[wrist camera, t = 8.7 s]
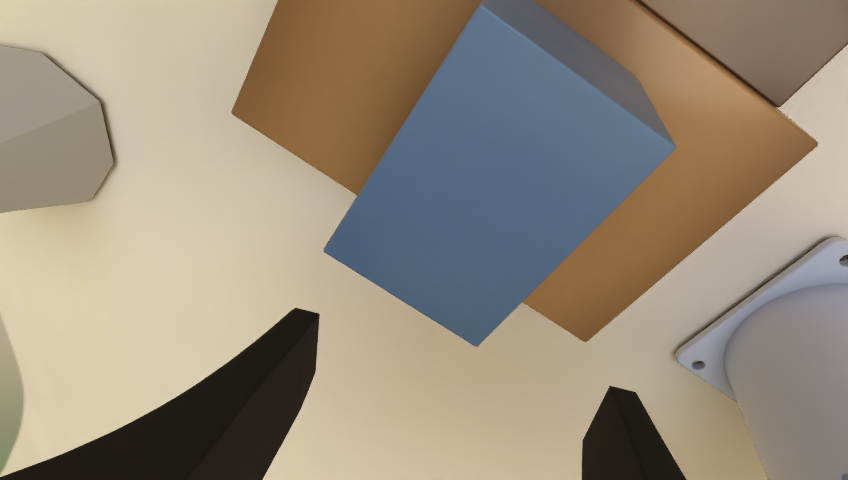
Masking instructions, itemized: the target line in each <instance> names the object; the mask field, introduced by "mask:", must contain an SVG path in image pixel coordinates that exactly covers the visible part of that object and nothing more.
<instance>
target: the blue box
mask: <svg viewBox="0 0 848 480" xmlns="http://www.w3.org/2000/svg"><path fill="white" fill-rule="evenodd" d="M675 149H676V145H675V143H674V141H673V140H672V138H671V136H670V134H669V132H668V131H667V129H666V127H665V125H664V124H663V122H662V120H661V118H660V117H659V115H658V113H657V111H656V109H655V108H654V106H653V104H652V102H651V101H650V99H649V97H648V95H647V94H646V92H645V90H644V88H643V86H642V85H641V83H640V81H639V79H638V78H637V77H636V76H635V75H633V74H632V73H631V72H629V71H628V70H627V69H625V68H624V67H623V66H621V65H620V64H619V63H617V62H616V61H615V60H613V59H612V58H611V57H609V56H608V55H607V54H605V53H604V52H603V51H601V50H600V49H598V48H597V47H596V46H594V45H593V44H592V43H590V42H589V41H588V40H586V39H585V38H584V37H582V36H581V35H580V34H578V33H577V32H576V31H574V30H573V29H572V28H570V27H569V26H568V25H566V24H565V23H563V22H562V21H561V20H559V19H558V18H557V17H555V16H554V15H553V14H551V13H550V12H549V11H547V10H546V9H545V8H543V7H542V6H541V5H539V4H538V3H537V2H535V1H534V0H482V2H481V3H480V4H479V6H478V7H477V9H476V10H475V12H474V13H473V15H472V17H471V18H470V20H469V21H468V23H467V24H466V26H465V28H464V29H463V31H462V32H461V34H460V35H459V37H458V39H457V40H456V42H455V43H454V45H453V46H452V48H451V50H450V51H449V53H448V54H447V56H446V57H445V59H444V61H443V62H442V64H441V65H440V67H439V68H438V70H437V72H436V73H435V75H434V76H433V78H432V79H431V81H430V83H429V84H428V86H427V87H426V89H425V90H424V92H423V94H422V95H421V97H420V98H419V100H418V101H417V103H416V105H415V106H414V108H413V109H412V111H411V112H410V114H409V116H408V117H407V119H406V120H405V122H404V123H403V125H402V127H401V128H400V130H399V131H398V133H397V134H396V136H395V138H394V139H393V141H392V142H391V144H390V145H389V147H388V149H387V150H386V152H385V153H384V155H383V156H382V158H381V160H380V161H379V163H378V164H377V166H376V167H375V169H374V171H373V172H372V174H371V175H370V177H369V178H368V180H367V182H366V183H365V185H364V186H363V188H362V190H361V191H360V193H359V194H358V196H357V197H356V199H355V201H354V202H353V204H352V205H351V207H350V208H349V210H348V212H347V213H346V215H345V216H344V218H343V219H342V221H341V223H340V224H339V226H338V227H337V229H336V230H335V232H334V234H333V235H332V237H331V238H330V240H329V241H328V243H327V245H326V246H325V248H324V252H325V253H327V254H328V255H330V256H331V257H333V258H335V259H336V260H338V261H339V262H341V263H343V264H344V265H346V266H347V267H349V268H351V269H352V270H354V271H355V272H357V273H359V274H360V275H362V276H363V277H365V278H367V279H368V280H370V281H371V282H373V283H375V284H376V285H378V286H379V287H381V288H383V289H384V290H386V291H387V292H389V293H391V294H392V295H394V296H395V297H397V298H399V299H400V300H402V301H403V302H405V303H407V304H408V305H410V306H411V307H413V308H415V309H416V310H418V311H420V312H421V313H423V314H424V315H426V316H428V317H429V318H431V319H432V320H434V321H436V322H437V323H439V324H440V325H442V326H444V327H445V328H447V329H448V330H450V331H452V332H453V333H455V334H456V335H458V336H460V337H461V338H463V339H464V340H466V341H468V342H469V343H471V344H472V345H474V346H476V347H477V346H478V345H479V344H480V343H481V342H482V341H483V340H484V339H485V338H486V337H487V336H488V335H489V334H490V333H491V332H492V331H493V330H494V329H495V328H496V327H497V326H498V325H499V324H500V323H501V322H502V321H503V320H504V319H505V318H506V317H507V316H508V315H509V314H510V313H511V312H512V311H513V310H514V309H515V308H516V307H517V306H518V305H519V304H520V303H521V302H522V301H523V300H524V299H525V298H526V297H528V296H529V295H530V294H531V293H532V292H533V291H534V290H535V289H536V288H537V287H538V286H539V285H540V284H541V283H542V282H543V281H544V280H545V279H546V278H547V277H548V276H549V275H550V274H551V273H552V272H553V271H554V270H555V269H556V268H557V267H558V266H559V265H560V264H561V263H562V262H563V261H564V260H565V259H566V258H567V257H568V256H569V255H570V254H571V253H572V252H573V251H574V250H575V249H576V248H577V247H578V246H579V245H580V244H581V243H582V242H583V241H584V240H585V239H586V238H587V237H588V236H589V235H590V234H591V233H592V232H593V231H594V230H595V229H596V228H597V227H598V226H599V225H600V224H601V223H602V222H603V221H604V220H605V219H606V218H607V217H608V216H609V215H610V214H611V213H612V212H613V211H614V210H615V209H616V208H617V207H618V206H619V205H620V204H621V203H622V202H623V201H624V200H625V199H626V198H627V197H628V196H629V195H630V194H631V193H632V192H633V191H634V190H635V189H636V188H637V187H638V186H639V185H640V184H641V183H642V182H643V181H644V180H645V179H646V178H647V177H648V176H649V175H650V174H651V173H652V172H653V171H654V170H655V169H656V168H657V167H658V166H659V165H660V164H661V163H662V162H663V161H664V160H665V159H666V158H667V157H668V156H669V155H670V154H671V153H672V152H673V151H674V150H675Z"/></svg>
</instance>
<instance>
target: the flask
mask: <svg viewBox="0 0 848 480" xmlns="http://www.w3.org/2000/svg"><path fill="white" fill-rule="evenodd" d="M113 164H114V163H113V158H112V154H111V149H110V145H109V140H108V136H107V131H106V126H105V122H104V117H103V113H102V108H101V104H100V101H98V100H97V99H96V98H95V97H94V96H92V95H91V94H90V93H89V92H88V91H86V90H85V89H84V88H83V87H82V86H80V85H79V84H78V83H77V82H76V81H74V80H73V79H72V78H71V77H70V76H68V75H67V74H66V73H65V72H64V71H62V70H61V69H60V68H59V67H58V66H56V65H55V64H54V63H53V62H52V61H50V60H49V59H48V58H47V57H46V56H44V55H43V54H42V53H41V52H35V51H29V50H23V49H17V48H11V47H5V46H0V213H4V212H10V211H17V210H25V209H33V208H42V207H50V206H59V205H67V204H75V203H81V202H88V201H91V200H92V198H93V196H94V195H95V193H96V191H97V190H98V188H99V187H100V185H101V183H102V182H103V180H104V178H105V177H106V175H107V173H108V172H109V170H110V169H111V167H112V165H113Z"/></svg>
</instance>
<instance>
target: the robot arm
mask: <svg viewBox="0 0 848 480" xmlns="http://www.w3.org/2000/svg"><path fill="white" fill-rule="evenodd" d="M845 255H848V240H846V239H844V238H842V237H832V238H829V239H827V240H825V241H823V242H822V243H820V244H819V245H818V246H816V247H815V248H814V249H812V250H811V251H810V252H808V253H807V254H806V255H804V256H803V257H802V258H800V259H799V260H798V261H796V262H795V263H793V264H792V265H791V266H789V267H788V268H787V269H785V270H784V271H783V272H781V273H780V274H779V275H777V276H776V277H775V278H773V279H772V280H771V281H769V282H768V283H767V284H765V285H764V286H762V287H761V288H760V289H758V290H757V291H756V292H754V293H753V294H752V295H750V296H749V297H748V298H746V299H745V300H744V301H742V302H741V303H740V304H738V305H737V306H736V307H734V308H733V309H731V310H730V311H729V312H727V313H726V314H725V315H723V316H722V317H721V318H719V319H718V320H717V321H715V322H714V323H713V324H711V325H710V326H709V327H707V328H706V329H705V330H703V331H702V332H700V333H699V334H698V335H696V336H695V337H694V338H692V339H691V340H690V341H688V342H687V343H686V344H684V345H683V346H682V347H680V348H679V349H678V350H677V352H676V357H677V361H678V363H679V364H680V365H681V366H683V367H684V368H686V369H687V370H689V371H690V372H692V373H693V374H695V375H696V376H698V377H700V378H701V379H703V380H704V381H706V382H707V383H709V384H710V385H712V386H713V387H715V388H716V389H718V390H719V391H721V392H722V393H724V394H725V395H727V396H728V397H730V398H731V399H733V400H734V401H736V402H737V403H738V404H739V407H740V409H741V412H742V415H743V417H744V420H745V422H746V425H747V427H748V430H749V432H750V435H751V437H752V440H753V442H754V445H755V447H756V450H757V453H758V455H759V458H760V460H761V463H762V465H763V468H764V470H765V473H766V475H767V478H768V480H848V259H846V260H843V261H839V260H840V258H841V257H842V256H845ZM318 328H319V314H318V313H314V312H310V311H306V310H302V309H298V308H295V309H293V310H291V311H290V312H289V313H288V314H287V315H286V316H285V317H283V318H282V319H281V320H280V321H279V322H278V323H277V324H275V325H274V326H273V327H272V328H271V329H270V330H268V331H267V332H266V333H265V334H264V335H262V336H261V337H260V338H259V339H257V340H256V341H255V342H254V343H252V344H251V345H250V346H249V347H247V348H246V349H245V350H243V351H242V352H241V353H240V354H238V355H237V356H236V357H234V358H233V359H232V360H230V361H229V362H228V363H226V364H225V365H224V366H222V367H221V368H219V369H218V370H216V371H215V372H214V373H212V374H211V375H209V376H208V377H206V378H205V379H204V380H202V381H201V382H199V383H198V384H196V385H195V386H193V387H192V388H190V389H188V390H187V391H185V392H184V393H182V394H181V395H179V396H177V397H176V398H174V399H172V400H171V401H169V402H167V403H165V404H164V405H162V406H160V407H159V408H157V409H155V410H153V411H151V412H149V413H148V414H146V415H144V416H142V417H140V418H138V419H136V420H135V421H133V422H131V423H129V424H127V425H125V426H123V427H121V428H119V429H117V430H115V431H113V432H111V433H109V434H107V435H104V436H102V437H100V438H98V439H95V440H93V441H91V442H89V443H87V444H84V445H82V446H80V447H78V448H75V449H73V450H71V451H69V452H66V453H64V454H61V455H59V456H56V457H54V458H51V459H49V460H46V461H43V462H41V463H38V464H35V465H33V466H30V467H27V468H24V469H22V470H19V471H16V472H13V473H11V474H8V475H5V476H2V477H0V480H262V479H263V477H264V476H265V474H266V472H267V470H268V468H269V466H270V465H271V463H272V461H273V459H274V457H275V455H276V454H277V452H278V450H279V448H280V446H281V444H282V443H283V441H284V439H285V437H286V435H287V433H288V432H289V430H290V428H291V426H292V424H293V422H294V420H295V419H296V417H297V415H298V413H299V411H300V409H301V407H302V404H303V402H304V400H305V397H306V395H307V392H308V390H309V387H310V385H311V382H312V380H313V377H314V374H315V371H316V356H317V342H318ZM695 361H702V362H700V363H694V362H695ZM582 480H686V478H685V476H684V475H683V473H682V472H681V470H680V468H679V467H678V465H677V463H676V462H675V460H674V458H673V457H672V455H671V453H670V452H669V450H668V448H667V447H666V445H665V443H664V441H663V440H662V438H661V436H660V434H659V433H658V431H657V429H656V427H655V425H654V424H653V422H652V420H651V418H650V417H649V415H648V413H647V411H646V409H645V408H644V406H643V404H642V402H641V401H640V399H639V397H638V395H637V394H636V392H633V391H629V390H624V389H620V388H616V387H612V386H610V387H609V389H608V391H607V393H606V395H605V397H604V399H603V401H602V403H601V405H600V407H599V409H598V411H597V413H596V415H595V417H594V419H593V421H592V423H591V425H590V427H589V429H588V431H587V433H586V435H585V437H584V439H583V448H582Z"/></svg>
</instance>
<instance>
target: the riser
mask: <svg viewBox="0 0 848 480" xmlns="http://www.w3.org/2000/svg"><path fill="white" fill-rule="evenodd" d="M534 1H535V2H537V3H538V4H539V5H541V6H542V7H543V8H545V9H546V10H547V11H549V12H550V13H551V14H553V15H554V16H555V17H557V18H558V19H559V20H561V21H562V22H563V23H565V24H566V25H568V26H569V27H570V28H572V29H573V30H574V31H576V32H577V33H578V34H580V35H581V36H582V37H584V38H585V39H586V40H588V41H589V42H590V43H592V44H593V45H594V46H596V47H597V48H598V49H600V50H601V51H603V52H604V53H605V54H607V55H608V56H609V57H611V58H612V59H613V60H615V61H616V62H617V63H619V64H620V65H621V66H623V67H624V68H625V69H627V70H628V71H629V72H631V73H632V74H633V75H635V76H636V77H637V78H638V79H639V81H640V83H641V85H642V86H643V88H644V90H645V92H646V94H647V95H648V97H649V99H650V101H651V102H652V104H653V106H654V108H655V109H656V111H657V113H658V115H659V117H660V118H661V120H662V122H663V124H664V125H665V127H666V129H667V131H668V132H669V134H670V136H671V138H672V140H673V141H674V143H675V145H676V149H675V150H674V151H673V152H672V153H671V154H670V155H669V156H668V157H667V158H666V159H665V160H664V161H663V162H662V163H661V164H660V165H659V166H658V167H657V168H656V169H655V170H654V171H653V172H652V173H651V174H650V175H649V176H648V177H647V178H646V179H645V180H644V181H643V182H642V183H641V184H640V185H639V186H638V187H637V188H636V189H635V190H634V191H633V192H632V193H631V194H630V195H629V196H628V197H627V198H626V199H625V200H624V201H623V202H622V203H621V204H620V205H619V206H618V207H617V208H616V209H615V210H614V211H613V212H612V213H611V214H610V215H609V216H608V217H607V218H606V219H605V220H604V221H603V222H602V223H601V224H600V225H599V226H598V227H597V228H596V229H595V230H594V231H593V232H592V233H591V234H590V235H589V236H588V237H587V238H586V239H585V240H584V241H583V242H582V243H581V244H580V245H579V246H578V247H577V248H576V249H575V250H574V251H573V252H572V253H571V254H570V255H569V256H568V257H567V258H566V259H565V260H564V261H563V262H562V263H561V264H560V265H559V266H558V267H557V268H556V269H555V270H554V271H553V272H552V273H551V274H550V275H549V276H548V277H547V278H546V279H545V280H544V281H543V282H542V283H541V284H540V285H539V286H538V287H537V288H536V289H535V290H534V291H533V292H532V293H531V294H530V295H529V296H528V297H526V298H525V299H524V300H523V301H522V302H523V303H525V304H526V305H528V306H530V307H531V308H533V309H534V310H536V311H537V312H539V313H540V314H542V315H543V316H545V317H547V318H548V319H550V320H551V321H553V322H554V323H556V324H557V325H559V326H560V327H562V328H564V329H565V330H567V331H568V332H570V333H571V334H573V335H574V336H576V337H577V338H579V339H581V340H582V341H584V342H587V341H588V340H589V339H591V338H592V337H593V336H594V335H595V334H596V333H598V332H599V331H600V330H601V329H602V328H603V327H605V326H606V325H607V324H608V323H609V322H611V321H612V320H613V319H614V318H615V317H616V316H618V315H619V314H620V313H621V312H622V311H623V310H625V309H626V308H627V307H628V306H629V305H631V304H632V303H633V302H634V301H635V300H636V299H638V298H639V297H640V296H641V295H642V294H643V293H645V292H646V291H647V290H648V289H649V288H651V287H652V286H653V285H654V284H655V283H656V282H658V281H659V280H660V279H661V278H662V277H663V276H665V275H666V274H667V273H668V272H669V271H671V270H672V269H673V268H674V267H675V266H676V265H678V264H679V263H680V262H681V261H682V260H684V259H685V258H686V257H687V256H688V255H689V254H691V253H692V252H693V251H694V250H695V249H696V248H698V247H699V246H700V245H701V244H702V243H704V242H705V241H706V240H707V239H708V238H709V237H711V236H712V235H713V234H714V233H715V232H716V231H718V230H719V229H720V228H721V227H722V226H724V225H725V224H726V223H727V222H728V221H729V220H731V219H732V218H733V217H734V216H735V215H736V214H738V213H739V212H740V211H741V210H742V209H744V208H745V207H746V206H747V205H748V204H749V203H751V202H752V201H753V200H754V199H755V198H756V197H758V196H759V195H760V194H761V193H762V192H764V191H765V190H766V189H767V188H768V187H769V186H771V185H772V184H773V183H774V182H775V181H777V180H778V179H779V178H780V177H781V176H782V175H784V174H785V173H786V172H787V171H788V170H789V169H791V168H792V167H793V166H794V165H795V164H797V163H798V162H799V161H800V160H801V159H802V158H804V157H805V156H806V155H807V154H808V153H809V152H811V151H812V150H813V149H814V148H815V147H817V145H818V142H817V141H816V140H815V139H814V138H812V137H811V136H810V135H809V134H808V133H806V132H805V131H804V130H803V129H801V128H800V127H799V126H798V125H797V124H795V123H794V122H793V121H792V120H791V119H789V118H788V117H787V116H786V115H785V114H783V113H782V112H781V111H780V110H779V109H777V108H776V107H778V108H779V107H781V106H782V105H783V104H784V103H785V102H786V101H787V100H788V99H789V98H790V97H791V96H792V95H793V94H795V93H796V92H797V91H798V90H799V89H800V88H801V87H802V86H803V85H804V84H805V83H806V82H807V81H809V80H810V79H811V78H812V77H813V76H814V75H815V74H816V73H817V72H818V71H819V70H820V69H821V68H823V67H824V66H825V65H826V64H827V63H828V62H829V61H830V60H831V59H832V58H833V57H834V56H835V55H837V54H838V53H839V52H840V51H841V50H842V49H843V48H844V47H845V46H846V45H847V44H848V0H534ZM481 2H482V0H278V2H277V4H276V7H275V9H274V11H273V14H272V16H271V19H270V21H269V23H268V26H267V28H266V30H265V33H264V35H263V38H262V40H261V42H260V45H259V47H258V50H257V52H256V54H255V57H254V59H253V62H252V64H251V66H250V69H249V71H248V74H247V76H246V78H245V81H244V83H243V85H242V88H241V90H240V93H239V95H238V97H237V100H236V102H235V105H234V107H233V109H232V114H233V115H234V116H236V117H237V118H239V119H241V120H242V121H244V122H245V123H247V124H248V125H250V126H251V127H253V128H254V129H256V130H258V131H259V132H261V133H262V134H264V135H265V136H267V137H268V138H270V139H271V140H273V141H275V142H276V143H278V144H279V145H281V146H282V147H284V148H285V149H287V150H288V151H290V152H292V153H293V154H295V155H296V156H298V157H299V158H301V159H302V160H304V161H305V162H307V163H309V164H310V165H312V166H313V167H315V168H316V169H318V170H319V171H321V172H322V173H324V174H326V175H327V176H329V177H330V178H332V179H333V180H335V181H336V182H338V183H339V184H341V185H343V186H344V187H346V188H347V189H349V190H350V191H352V192H353V193H355V194H356V195H358V194H359V193H360V191H361V190H362V188H363V186H364V185H365V183H366V182H367V180H368V178H369V177H370V175H371V174H372V172H373V171H374V169H375V167H376V166H377V164H378V163H379V161H380V160H381V158H382V156H383V155H384V153H385V152H386V150H387V149H388V147H389V145H390V144H391V142H392V141H393V139H394V138H395V136H396V134H397V133H398V131H399V130H400V128H401V127H402V125H403V123H404V122H405V120H406V119H407V117H408V116H409V114H410V112H411V111H412V109H413V108H414V106H415V105H416V103H417V101H418V100H419V98H420V97H421V95H422V94H423V92H424V90H425V89H426V87H427V86H428V84H429V83H430V81H431V79H432V78H433V76H434V75H435V73H436V72H437V70H438V68H439V67H440V65H441V64H442V62H443V61H444V59H445V57H446V56H447V54H448V53H449V51H450V50H451V48H452V46H453V45H454V43H455V42H456V40H457V39H458V37H459V35H460V34H461V32H462V31H463V29H464V28H465V26H466V24H467V23H468V21H469V20H470V18H471V17H472V15H473V13H474V12H475V10H476V9H477V7H478V6H479V4H480V3H481Z"/></svg>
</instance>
